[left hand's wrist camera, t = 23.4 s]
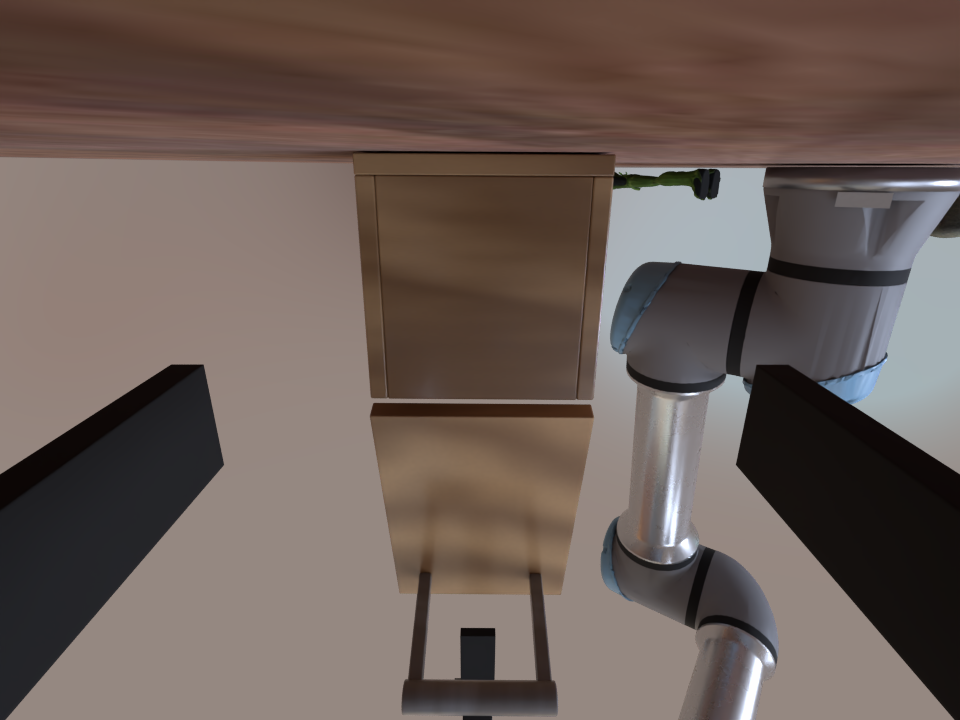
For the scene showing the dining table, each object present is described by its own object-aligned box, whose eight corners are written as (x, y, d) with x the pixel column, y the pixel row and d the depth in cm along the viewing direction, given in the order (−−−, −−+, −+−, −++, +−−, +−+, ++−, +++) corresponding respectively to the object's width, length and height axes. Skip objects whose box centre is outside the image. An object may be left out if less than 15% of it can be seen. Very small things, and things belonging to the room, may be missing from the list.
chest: (561, 160, 32) (552, 315, 36) (405, 159, 32) (411, 314, 36) (616, 154, 19) (593, 400, 23) (352, 152, 19) (370, 399, 23)
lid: (559, 581, 32) (578, 731, 26) (401, 580, 32) (381, 729, 26) (591, 404, 23) (631, 566, 17) (373, 402, 23) (330, 564, 17)
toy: (740, 197, 100) (605, 193, 120) (745, 167, 99) (607, 168, 118) (668, 203, 79) (518, 197, 99) (672, 166, 77) (519, 167, 97)
